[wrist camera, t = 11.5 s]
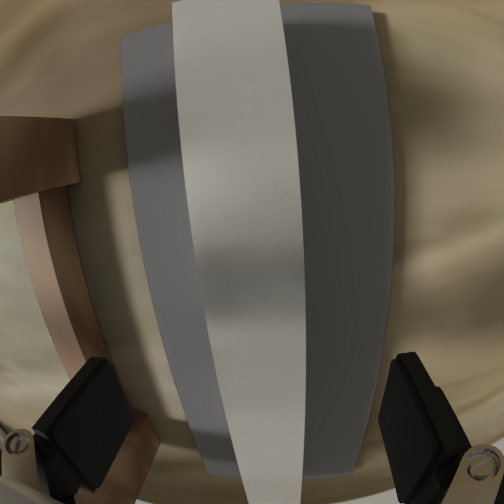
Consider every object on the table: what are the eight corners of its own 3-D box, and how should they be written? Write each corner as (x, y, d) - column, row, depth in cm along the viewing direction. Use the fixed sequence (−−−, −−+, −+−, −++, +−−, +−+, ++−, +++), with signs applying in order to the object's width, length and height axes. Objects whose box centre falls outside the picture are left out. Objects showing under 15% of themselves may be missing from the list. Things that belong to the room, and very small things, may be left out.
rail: (300, 473, 16) (299, 509, 13) (255, 473, 16) (250, 509, 13) (279, 24, 9) (276, -15, 6) (199, 35, 9) (172, 2, 6)
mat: (351, 469, 16) (352, 475, 16) (210, 469, 17) (209, 475, 17) (367, 11, 8) (370, 5, 8) (128, 40, 10) (121, 36, 9)
